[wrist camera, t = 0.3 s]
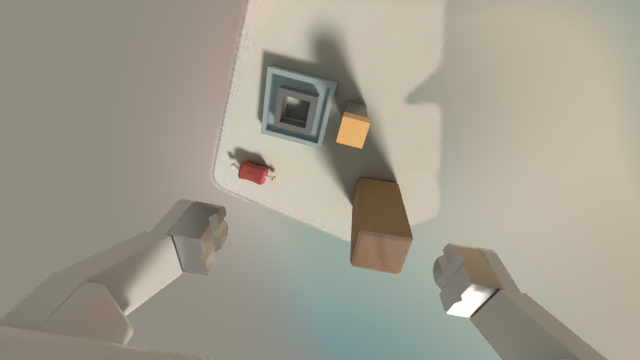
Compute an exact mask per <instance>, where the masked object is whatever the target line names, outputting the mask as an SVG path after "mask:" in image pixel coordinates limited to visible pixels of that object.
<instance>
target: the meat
mask: <svg viewBox="0 0 640 360" xmlns="http://www.w3.org/2000/svg"><path fill="white" fill-rule="evenodd" d="M230 168H231V169H238V170H239V174H238V177H239V178H241V179H247V180H250V181H253V182H255V183H257V184H259V185H262V184H263V183H264V182H265V180H266V178H267V179H270V180H272V182H275V181H276V180H277V178H276V177H275V176H274V177H271V176H267V173H268V168H267V167H264V166H258V165H255V164H252V163H250V162H248V161H244V162H243V163H242V164H241V166H240V167H239V166H236V165H235V163H233V164H231V165H230Z"/></svg>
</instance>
